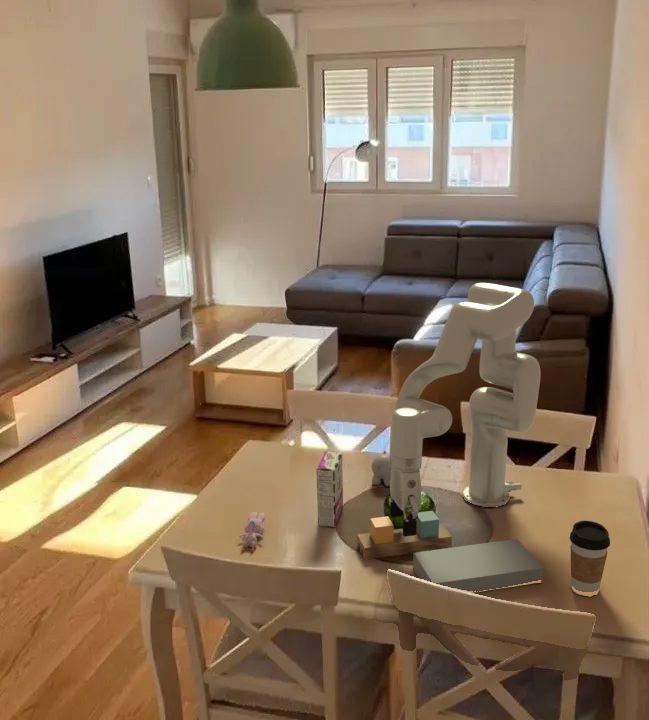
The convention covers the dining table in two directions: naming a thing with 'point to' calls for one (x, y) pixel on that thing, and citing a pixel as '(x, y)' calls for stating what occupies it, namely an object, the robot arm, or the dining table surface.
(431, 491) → the dining table surface
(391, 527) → the orange cube
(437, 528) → the teal cube
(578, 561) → the coffee cup
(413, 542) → the brown wooden block
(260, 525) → the rabbit figure
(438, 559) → the dock
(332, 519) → the candy bar box
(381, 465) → the round bodied animal figurine
